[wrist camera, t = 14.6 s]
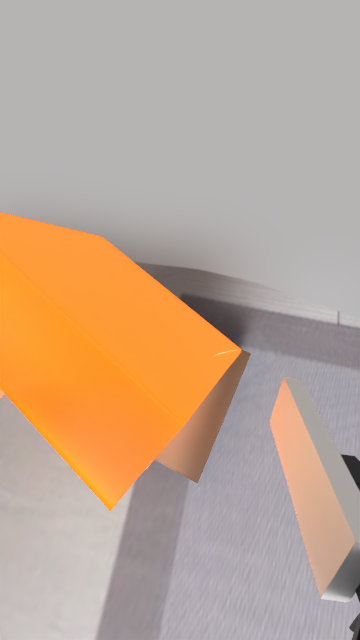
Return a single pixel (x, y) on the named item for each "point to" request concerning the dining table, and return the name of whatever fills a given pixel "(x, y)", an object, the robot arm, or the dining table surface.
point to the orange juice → (99, 352)
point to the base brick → (203, 425)
